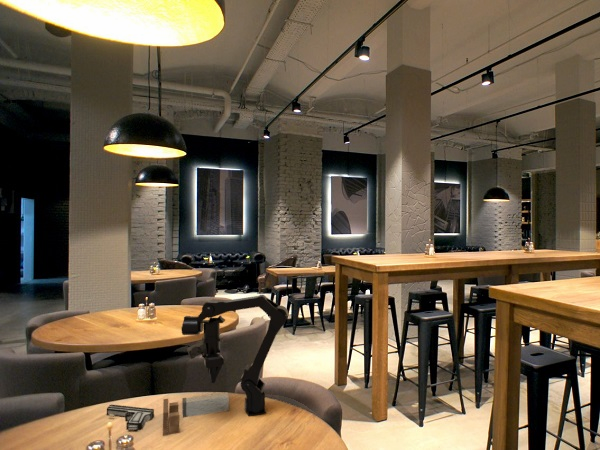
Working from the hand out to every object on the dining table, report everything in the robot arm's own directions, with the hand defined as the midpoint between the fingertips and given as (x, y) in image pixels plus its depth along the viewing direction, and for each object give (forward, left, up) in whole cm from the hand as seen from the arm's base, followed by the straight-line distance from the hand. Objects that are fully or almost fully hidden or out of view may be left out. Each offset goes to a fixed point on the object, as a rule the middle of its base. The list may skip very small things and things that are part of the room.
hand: (211, 378), depth 135 cm
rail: (+2, 0, -12) cm, 12 cm away
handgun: (+29, -2, -12) cm, 32 cm away
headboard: (+13, +7, -12) cm, 19 cm away
